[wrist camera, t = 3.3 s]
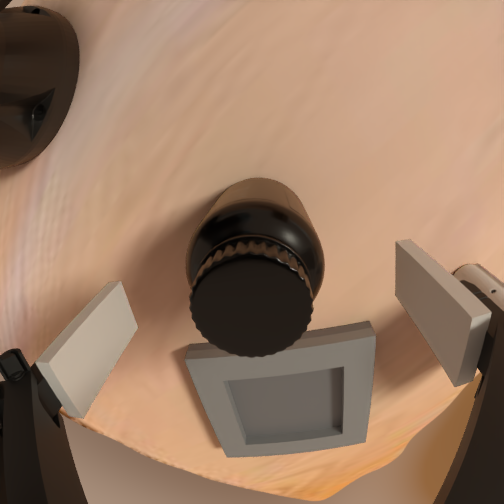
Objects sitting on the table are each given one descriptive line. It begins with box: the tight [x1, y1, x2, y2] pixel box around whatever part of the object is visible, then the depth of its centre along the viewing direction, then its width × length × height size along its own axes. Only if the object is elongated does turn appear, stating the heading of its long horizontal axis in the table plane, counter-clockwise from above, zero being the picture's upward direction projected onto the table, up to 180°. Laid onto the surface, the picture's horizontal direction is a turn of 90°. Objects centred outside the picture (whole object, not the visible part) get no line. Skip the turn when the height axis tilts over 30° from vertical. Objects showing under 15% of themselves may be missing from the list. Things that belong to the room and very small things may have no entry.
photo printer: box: [453, 263, 504, 311], centre depth 19 cm, size 10×4×12 cm, turn 33°
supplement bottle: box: [186, 178, 325, 358], centre depth 17 cm, size 7×7×12 cm
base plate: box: [184, 321, 376, 457], centre depth 28 cm, size 16×16×2 cm
